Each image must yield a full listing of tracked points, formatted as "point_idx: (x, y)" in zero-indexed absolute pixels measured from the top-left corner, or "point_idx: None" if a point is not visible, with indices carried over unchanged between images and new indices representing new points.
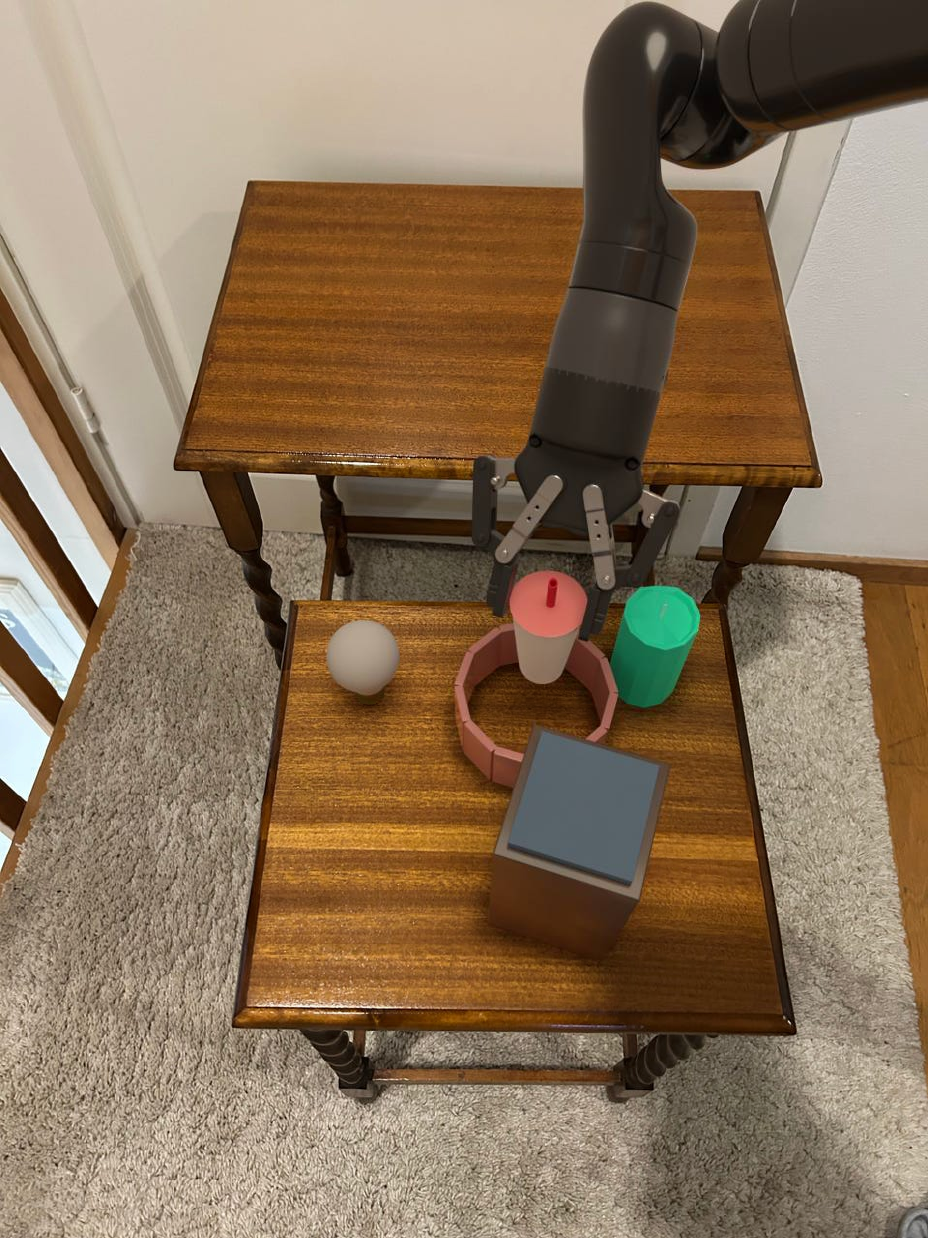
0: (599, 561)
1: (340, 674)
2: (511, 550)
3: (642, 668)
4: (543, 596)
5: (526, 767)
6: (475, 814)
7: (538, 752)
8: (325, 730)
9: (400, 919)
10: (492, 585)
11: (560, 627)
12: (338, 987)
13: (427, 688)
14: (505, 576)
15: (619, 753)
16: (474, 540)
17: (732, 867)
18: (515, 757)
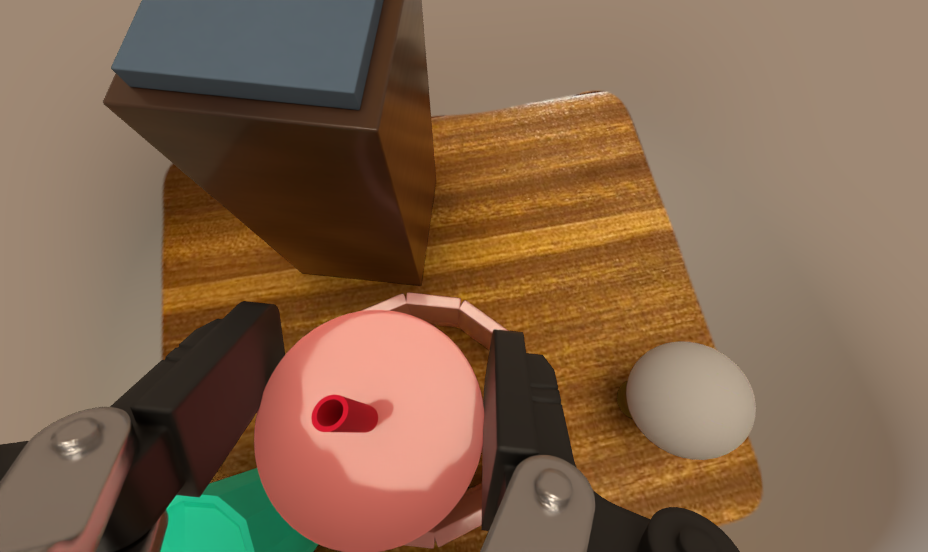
0: (52, 518)
1: (710, 347)
2: (525, 510)
3: (252, 479)
4: (388, 442)
5: (380, 54)
6: (470, 279)
7: (357, 54)
8: (664, 341)
9: (517, 170)
10: (548, 400)
11: (331, 346)
12: (552, 112)
13: (566, 425)
14: (516, 415)
15: (203, 105)
16: (713, 535)
17: (190, 277)
18: (431, 298)
